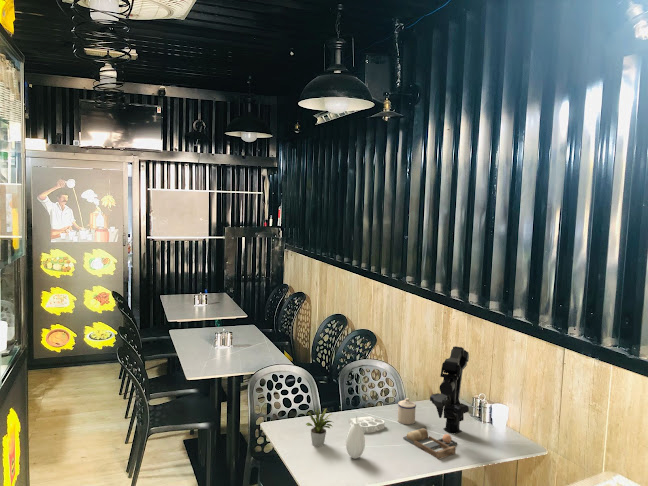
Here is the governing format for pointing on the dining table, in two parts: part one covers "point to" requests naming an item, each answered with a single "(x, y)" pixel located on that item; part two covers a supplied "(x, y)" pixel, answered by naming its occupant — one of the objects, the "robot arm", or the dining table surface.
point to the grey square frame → (448, 444)
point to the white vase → (355, 440)
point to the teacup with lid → (406, 411)
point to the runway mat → (424, 443)
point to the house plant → (318, 428)
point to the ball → (447, 438)
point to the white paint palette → (368, 424)
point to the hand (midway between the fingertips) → (447, 421)
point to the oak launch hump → (417, 435)
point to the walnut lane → (441, 453)
